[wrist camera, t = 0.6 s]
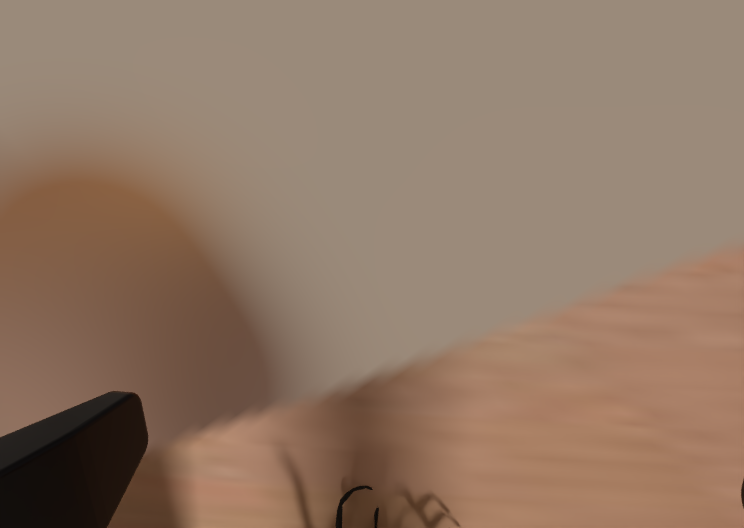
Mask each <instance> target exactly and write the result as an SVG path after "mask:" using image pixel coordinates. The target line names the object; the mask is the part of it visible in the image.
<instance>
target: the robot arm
mask: <svg viewBox="0 0 744 528" xmlns="http://www.w3.org/2000/svg"><path fill="white" fill-rule="evenodd" d="M147 444H148V432H147V427H146V422H145V418H144V412H143V408H142V403H141V399H140V398H139V396H138V395H137V394H135V393H132V392H119V391H112V392H108V393H106V394H104V395H101V396H99V397H96V398H94V399H92V400H89V401H87V402H84V403H82V404H80V405H77V406H75V407H73V408H70V409H67V410H65V411H63V412H60V413H58V414H56V415H53V416H51V417H48V418H46V419H43V420H41V421H39V422H36V423H34V424H31V425H29V426H27V427H24V428H22V429H20V430H17V431H15V432H12V433H10V434H7V435H5V436H2V437H0V528H107V526H108V524H109V522H110V520H111V518H112V516H113V515H114V513H115V511H116V509H117V507H118V505H119V503H120V501H121V499H122V497H123V495H124V493H125V491H126V489H127V487H128V485H129V483H130V481H131V479H132V477H133V475H134V473H135V471H136V469H137V467H138V465H139V463H140V461H141V459H142V457H143V455H144V453H145V451H146V448H147ZM741 498H742V504H743V508H744V480H743V484H742V489H741Z"/></svg>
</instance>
